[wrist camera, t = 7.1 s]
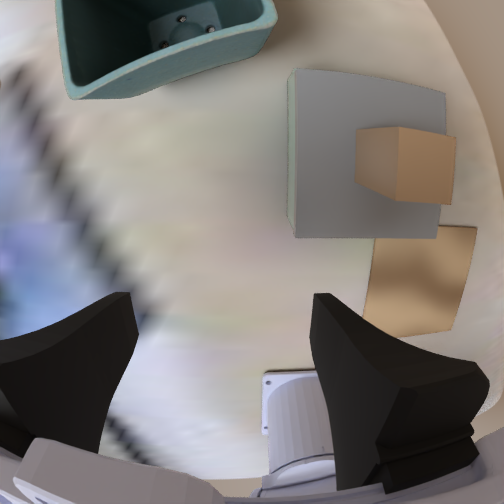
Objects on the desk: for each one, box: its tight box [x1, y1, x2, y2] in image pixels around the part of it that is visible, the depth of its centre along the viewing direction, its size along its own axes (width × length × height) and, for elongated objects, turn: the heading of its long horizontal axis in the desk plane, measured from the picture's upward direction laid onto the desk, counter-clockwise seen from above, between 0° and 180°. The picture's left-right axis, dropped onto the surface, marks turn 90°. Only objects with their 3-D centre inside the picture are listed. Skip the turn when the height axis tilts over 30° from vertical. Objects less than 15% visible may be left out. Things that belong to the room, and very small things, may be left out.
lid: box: [293, 68, 456, 239], centre depth 12 cm, size 9×9×6 cm
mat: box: [362, 226, 477, 338], centre depth 22 cm, size 10×10×1 cm
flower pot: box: [55, 0, 278, 100], centre depth 12 cm, size 9×9×9 cm
